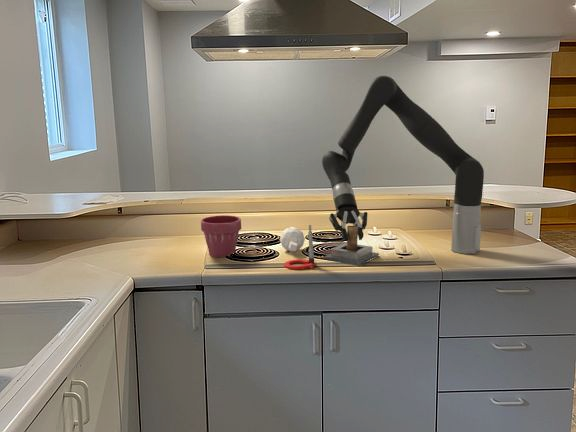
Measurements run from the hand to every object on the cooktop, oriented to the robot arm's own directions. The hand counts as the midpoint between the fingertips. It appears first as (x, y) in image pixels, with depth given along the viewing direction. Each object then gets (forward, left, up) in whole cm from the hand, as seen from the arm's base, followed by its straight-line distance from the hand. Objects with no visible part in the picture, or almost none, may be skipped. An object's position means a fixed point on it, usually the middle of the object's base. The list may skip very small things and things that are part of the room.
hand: (353, 239), depth 193 cm
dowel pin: (+1, -1, -7) cm, 7 cm away
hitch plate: (+1, -1, -7) cm, 7 cm away
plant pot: (+42, +20, -7) cm, 47 cm away
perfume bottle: (+23, +4, -7) cm, 25 cm away
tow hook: (+11, +17, -7) cm, 22 cm away
